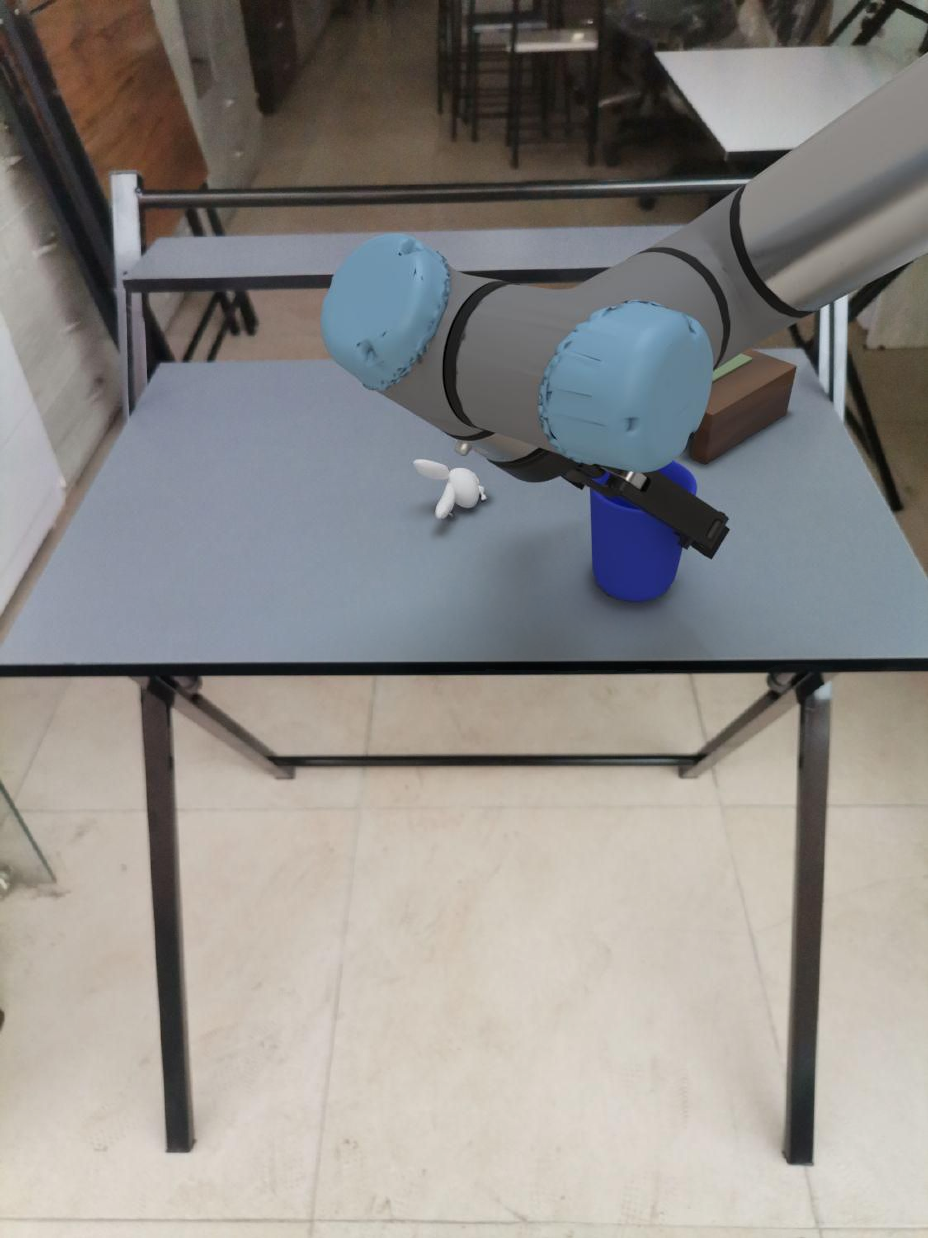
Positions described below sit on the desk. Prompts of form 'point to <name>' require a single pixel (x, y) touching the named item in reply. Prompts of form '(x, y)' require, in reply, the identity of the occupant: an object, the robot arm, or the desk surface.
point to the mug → (634, 543)
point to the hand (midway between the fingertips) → (648, 507)
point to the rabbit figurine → (452, 486)
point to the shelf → (742, 402)
